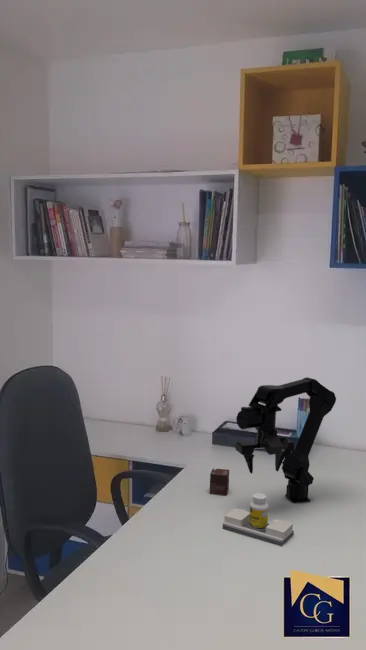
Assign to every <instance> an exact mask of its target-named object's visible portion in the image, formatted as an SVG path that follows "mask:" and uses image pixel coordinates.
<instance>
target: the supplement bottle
mask: <svg viewBox="0 0 366 650" xmlns="http://www.w3.org/2000/svg"><path fill="white" fill-rule="evenodd" d="M249 505H250V506H249V512H250V519H249V527H250V528H251V529H253V530H256V531H264V530H266V527H267V525H268V524H269V523H268V520H269V504H268V503H267V495H265V494H263V493H254V494H253V495H252V501H251V502H250V504H249Z"/></svg>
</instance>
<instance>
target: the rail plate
mask: <svg viewBox="0 0 366 650" xmlns="http://www.w3.org/2000/svg"><path fill="white" fill-rule="evenodd" d="M249 519H250V511H247V510H243V509H240V508H237V507H235V508H233V509H232V510H230V511H229V512H227V514H225V515H224V520H223V522H222V529H223V530H226V531H229V532H233V533H236V534H239V535H242V536H246V537H248V538H249V537H250V538H253V539H255V540H260V541H263V542H266V543H270V544H273V545H276V546H280V547H283V545H284V544H286V542H288V540H290V539H291V538H292V537H293V536H294V533H295V532H294V531H295V530H293V529H294V528H293V527H294V523H291V522H287V521H284V520H280V519H278V518H277V519H276V518H275V519H274V520H273V521H271V522H270V523H268V525H267V527H266V530H264V531H256V530H253V529H251V528H250V527H249Z"/></svg>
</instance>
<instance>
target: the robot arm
mask: <svg viewBox="0 0 366 650" xmlns="http://www.w3.org/2000/svg"><path fill="white" fill-rule="evenodd" d="M302 394H306V395H307V396H308V397H309V399H308V406H309V413H308V415H307V417H306V420H305V422H304V424H303V428H302V430H301V433H300V435H299V438H298V440H297V443H296V445H295V443H294V442H293V441H292V440H290V439H288V437H279V436H278V431H277V429H276V423H277V422H276V421H277V417H276V416H277V412H281V411H282V408H281V407H279V406H278V405H280V404H282V403H283V402H284V400H286V399H287V398H291V397H295V396H298V395H302ZM336 403H337V397H336V393H335V392H334V391H332V390H330V389H328V388H327V387H326V386H324V385H323V384H321V383H320V381H318V380H317V379H315V378H311V377H308V376H307V377H304V378H302V379H297V380H295V381H291V382H290V381H289V382H287V383H283V384H280V385H279V384H278V385H276V384H275V385H273V384H268V385H267V384H266V385H265V384H263V385H260V386H258V387H257V390H256V392H255V394H254V395H253V397H252V398H251V401H250V402H249V403H248V406H241V408H240V411H238V413H237V415H236V417H235V418H236V419H235V420H236V424H237V426H238V428H239V429H241V430H247V429H254V428H255V430H256V431H257V432H256V438H255V439H254V442H255V443H251V442H249V441H248V440H244V441H243V440H241V441H237V442H236V444H235V450H236V452H238V453H239V454H241V455H242V456H243V457H244V460H245V462H246V465H247V468H248V471H249V474H253V471H254V463H253V462H254V457H255V454H253V453H255V452H254V451H259V450H265V451H266V453H267V454H268V455H271V456H272V455H275V460H274V463H275V464H274V465H275V466H274V467H275V471H276V472H279V471H280V468H281V470H282V472H283V474H284V479H286V480H287V485H286V493H285V496H284V497H286V498H287V499H288V500H289V501H291V502H292V503H295V504H297V503H306V502H311V499H310V498H309V486H310V485H312V484H313V483H314V480H315V479H314V476H312V474H311V473H310V472H309V468H310V458H309V455H310V452H311V451H312V447H313V445H314V442H315V440H316V438H317V435H318V433H319V430H320V428H321V424H322V422H323V420H324V418H325V416H327V415H328V414H329V413H330V412H331V411H332V409H333V408H334V406H335V404H336Z"/></svg>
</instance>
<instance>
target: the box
mask: <svg viewBox="0 0 366 650" xmlns="http://www.w3.org/2000/svg"><path fill="white" fill-rule="evenodd" d="M229 487H230V469H225V468H216V467H215V468H212V469H211V472H210V474H209V494H210V495H217V496H219V495H220V496H227V495H228V493H229V491H230V490H229Z"/></svg>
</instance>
